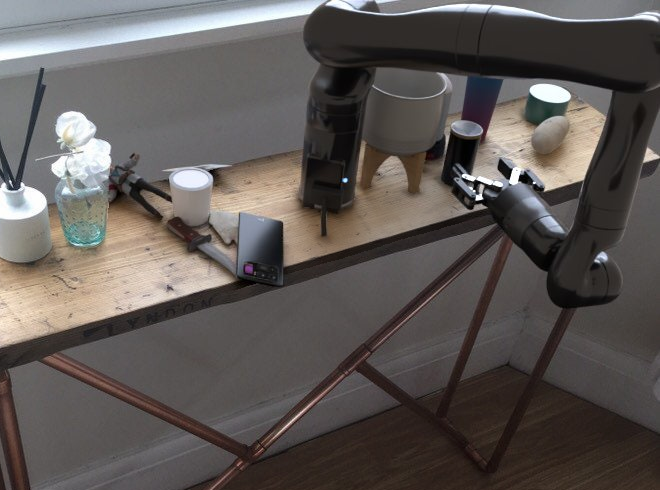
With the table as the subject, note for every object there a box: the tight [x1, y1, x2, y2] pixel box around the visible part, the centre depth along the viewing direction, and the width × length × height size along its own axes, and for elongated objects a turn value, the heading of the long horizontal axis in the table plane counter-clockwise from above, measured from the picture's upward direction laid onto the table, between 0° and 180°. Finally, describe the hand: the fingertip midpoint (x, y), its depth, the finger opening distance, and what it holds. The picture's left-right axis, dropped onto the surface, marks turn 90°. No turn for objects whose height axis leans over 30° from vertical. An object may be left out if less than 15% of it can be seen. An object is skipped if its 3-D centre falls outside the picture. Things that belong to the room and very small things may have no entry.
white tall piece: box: [425, 73, 453, 162], centre depth 154 cm, size 8×8×25 cm
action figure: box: [107, 152, 172, 221], centre depth 142 cm, size 9×7×15 cm
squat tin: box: [522, 83, 572, 126], centre depth 174 cm, size 8×8×5 cm
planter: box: [359, 68, 447, 196], centre depth 149 cm, size 13×13×18 cm
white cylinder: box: [168, 167, 214, 227], centre depth 140 cm, size 7×7×7 cm
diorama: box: [161, 163, 233, 172], centre depth 151 cm, size 8×12×2 cm
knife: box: [167, 216, 237, 277], centre depth 135 cm, size 17×1×5 cm
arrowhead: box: [208, 209, 239, 245], centre depth 140 cm, size 7×2×10 cm
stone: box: [530, 116, 571, 155], centre depth 165 cm, size 6×6×12 cm
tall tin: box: [440, 120, 483, 188], centre depth 152 cm, size 5×5×10 cm
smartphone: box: [235, 211, 285, 288], centre depth 135 cm, size 7×15×1 cm, turn 2°
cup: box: [460, 76, 505, 143], centre depth 163 cm, size 7×7×15 cm
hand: (477, 165), depth 148 cm, fingers open, 8 cm apart
